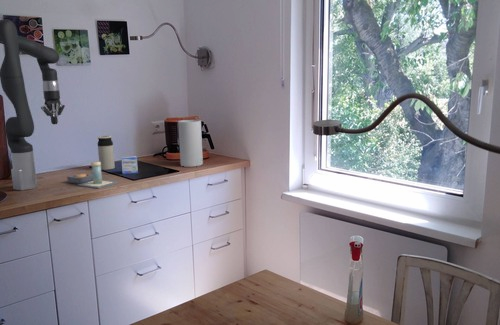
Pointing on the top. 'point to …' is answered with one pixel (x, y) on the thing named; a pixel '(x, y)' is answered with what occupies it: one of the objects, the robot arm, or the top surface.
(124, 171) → the medicine box
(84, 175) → the button
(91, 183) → the picture board
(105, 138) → the travel mug
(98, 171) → the teal bottle
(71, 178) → the button housing
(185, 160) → the cylinder vase
